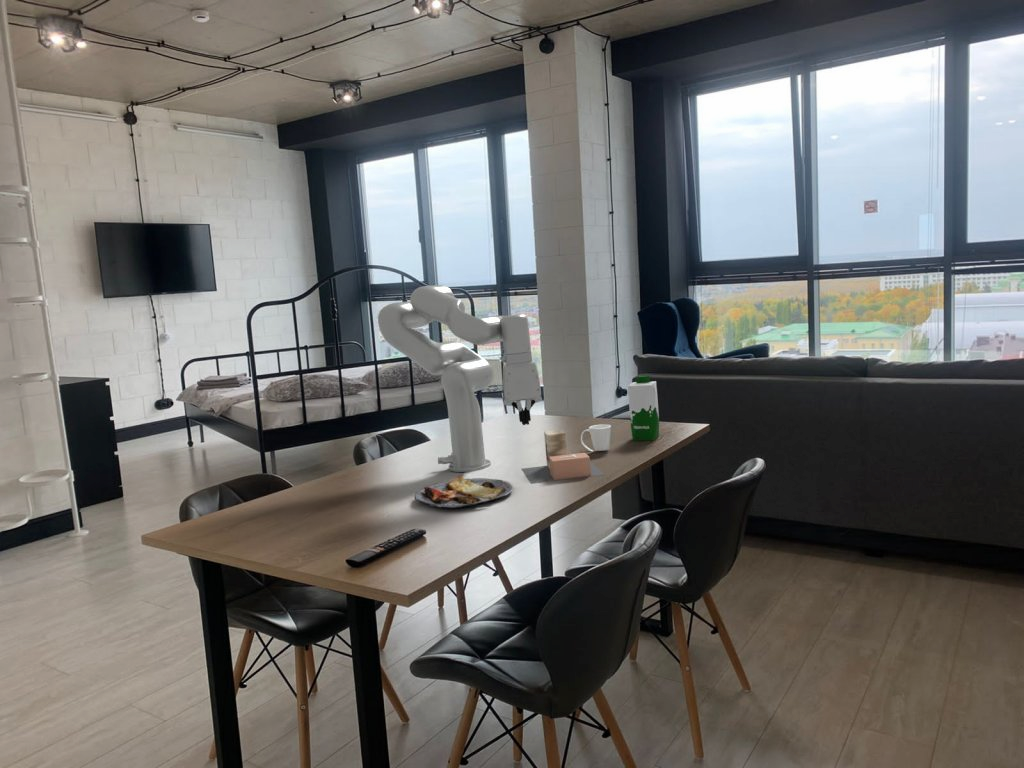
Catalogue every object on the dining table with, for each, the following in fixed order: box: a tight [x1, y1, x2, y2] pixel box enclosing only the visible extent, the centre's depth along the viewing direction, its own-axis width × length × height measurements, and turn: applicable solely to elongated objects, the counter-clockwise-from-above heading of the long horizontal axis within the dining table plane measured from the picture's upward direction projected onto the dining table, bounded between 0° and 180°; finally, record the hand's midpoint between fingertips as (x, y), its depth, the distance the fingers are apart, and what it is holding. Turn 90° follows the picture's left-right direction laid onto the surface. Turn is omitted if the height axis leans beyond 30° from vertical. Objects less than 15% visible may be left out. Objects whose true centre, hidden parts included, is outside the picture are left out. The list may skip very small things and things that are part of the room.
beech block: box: [543, 429, 568, 469], centre depth 218 cm, size 5×6×10 cm
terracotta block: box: [549, 452, 591, 480], centre depth 207 cm, size 5×6×10 cm
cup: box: [580, 424, 612, 452], centre depth 233 cm, size 7×10×8 cm
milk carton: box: [627, 374, 660, 441], centre depth 247 cm, size 9×9×20 cm
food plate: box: [414, 475, 514, 509], centre depth 196 cm, size 25×23×4 cm
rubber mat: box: [521, 461, 606, 485], centre depth 212 cm, size 20×18×1 cm
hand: (525, 424), depth 215 cm, fingers closed
